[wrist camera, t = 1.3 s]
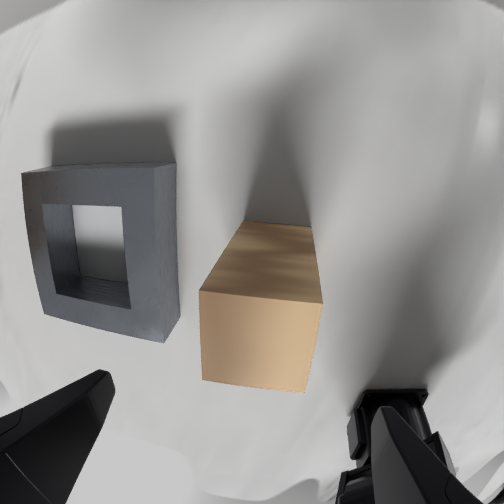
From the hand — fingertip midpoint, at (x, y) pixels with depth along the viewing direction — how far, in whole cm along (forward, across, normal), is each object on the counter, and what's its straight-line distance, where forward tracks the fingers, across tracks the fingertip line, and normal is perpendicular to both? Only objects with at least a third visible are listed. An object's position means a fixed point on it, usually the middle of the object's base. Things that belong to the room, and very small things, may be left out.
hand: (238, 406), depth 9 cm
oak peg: (+13, 0, 0) cm, 13 cm away
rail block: (+13, +12, 0) cm, 18 cm away
